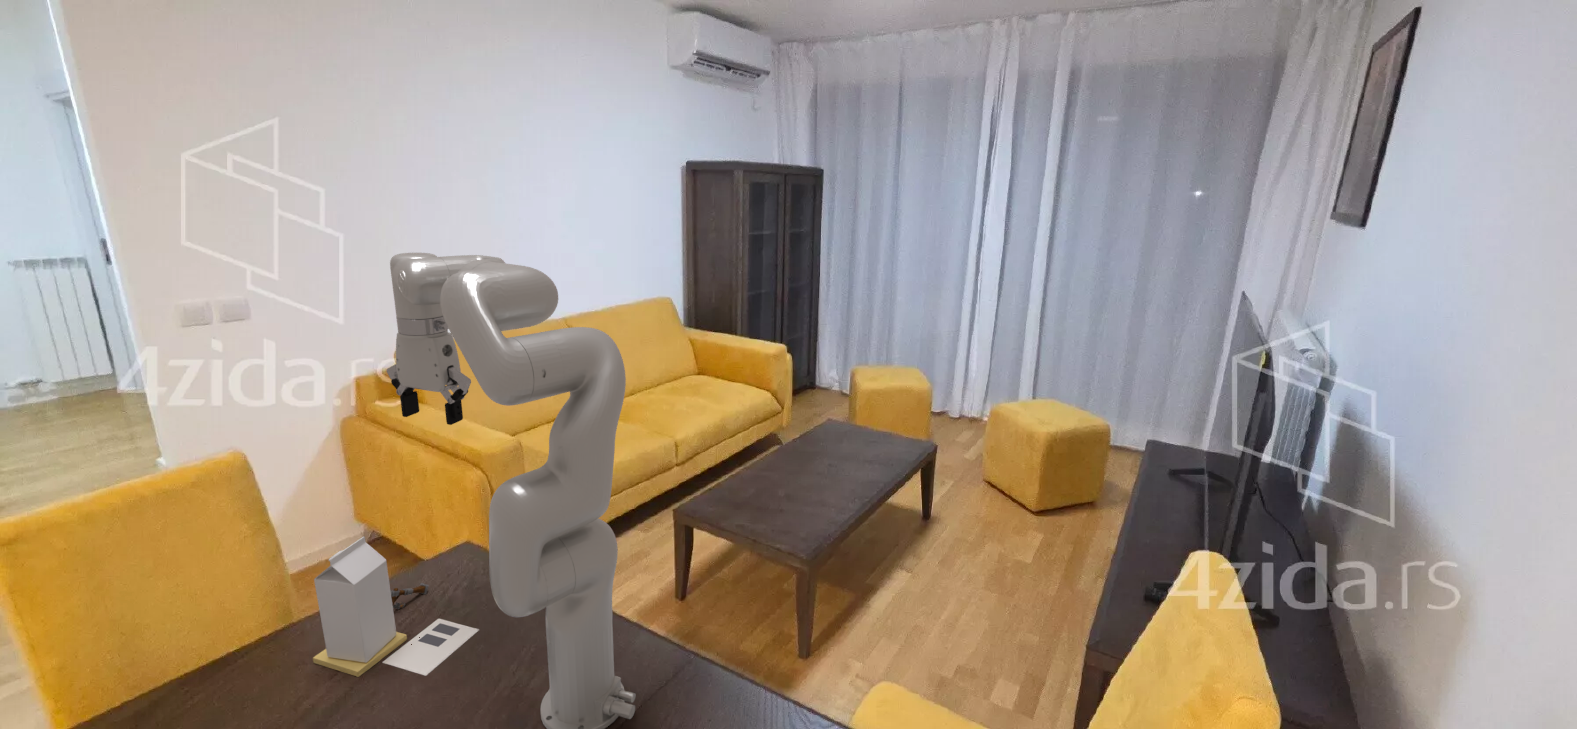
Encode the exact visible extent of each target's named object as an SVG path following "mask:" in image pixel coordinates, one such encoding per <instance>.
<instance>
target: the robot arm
mask: <svg viewBox="0 0 1577 729" xmlns="http://www.w3.org/2000/svg"><path fill="white" fill-rule="evenodd" d="M389 268H390V274H391V275H390V276H391V284H392V291H393V299H394V300H393V301H394V308H395V316H396V326H397V333H396V339H395V340H396V341H395V361H396V362H395V364H393V365H391V366H390V367H388V368H387V369H386V373H387V375H388V377H389V379H390V383H391V385H392V386H393V388H395V389H396V395H398V396H399V399H400V400H399V401H400V407H401V414H402V417H403V418H408V417H410V416H413V415H415V414H417V413H419V412H420V405H419V394H418V391H416V390H415V389H417V390H421V391H428V392H435V393H436V392H437V393H441V396H443V397H444V399H445V400H446V402H445V403H444V411H445V412H444V413H445V418H446V419H445V422H446V424H447V425H449V426H451V425H454V424H457V423H458V422H461V421H463V419H464V415H463V406H462V400H464V399H465V396H466V395H467V394H468V392H469V389H470V386H471V383H472V380H471V378H469V377H468V376H467V375H465V374H464V373H463V372H462V371H461V364H460V359H459V358H460V357H459V354H458V350H457V346H458V348H459V350H460V352H461V353H462V355H463V357H464V359H465V360H466V363H467V364H468V367H469V368H470V370H471V371H472V374H473V375H474V377H475V380H476V381H477V383H478V385H479V386H480V388H481V390H482V391H483V392H484V394H485V395H486V396H487V397H488V398H489V400H491V401H492V402H494V403H496V404H498V405H502V406H518V405H521V404H522V405H523V404H526V403H531V402H534V401H538V400H542V399H546V398H551V397H554V396H558V395H561V394H566V393H570V394H569V396H568V398H567V400H566V402H565V403H564V404H563V406H562V407H561V408H560V410H559V412H558V414H557V416H556V417H555V419H554V421H553V424H552V426H551V428H550V432H549V438H548V457H547V460H546V462H545V463H544V464H543V465H542V466H540V467H538V468H537V469H533V470H530V471H527V472H525V473H522V474H519V475H516V476H513V477H511V478H509V479H507V480H505V481H504V482H502V483H501V484H500V485H499V486H498V487H497V488H496V489H495V492H494V493H493V495H492V498H491V500H490V504H489V510H488V511H489V512H488V518H489V519H488V526H489V528H488V529H489V530H488V531H489V532H488V534H489V536H488V540H489V542H488V546H489V548H488V549H489V550H488V552H489V553H488V554H489V556H488V557H489V558H488V561H489V562H488V563H489V566H488V568H489V570H488V571H489V582H490V588H491V594H492V596H493V599H494V601H495V603H496V605H497V607H498V609H500V611H501V612H503V613H504V615H506V616H509V617H512V618H523V617H528V616H531V615H533V614H536V613H538V612H539V611H541V610H543V609H545V635H546V647H547V648H546V650H547V651H546V652H547V663H548V666H547V667H548V681H549V689H548V691H547V692H545V695H544V696H543V698H542V700H541V703H540V719H541V721H542V725H543V726H544V727H545V728H546V729H606V728H608V726H609V727H610V725H611V724H613V723H614V722H615V721H616V720H617V719H618V718H619V717H620V718H625V719H627V720H631V719H632V718H633V716H634V715H635V711H636V705H635V704H633V703H634V702H635V700H636V693H634V692H632V691H628V690H627V691H626V690H625V688H624V685H623V683H622V682H621V681H622V680H621V679H622V678H621V677H620V676H617V675H615V662H614V660H615V659H614V658H615V657H614V655H615V654H614V631H613V630H614V629H613V627H614V625H613V616H614V615H613V588H614V587H613V586H614V578H615V573H616V569H617V563H618V562H617V561H618V553H619V552H618V548H619V547H618V541H617V538H616V534H615V533H614V530H613V529H612V528H611V526H610V525H609V524H608V523H607V522H605V521H604V520H602V519H600V518H601V517H602V516H603V515H605V513H607V510H608V508H609V506H610V501H611V495H612V487H613V474H614V463H615V462H614V460H615V448H616V446H615V445H616V436H617V435H616V434H617V429H618V423H619V419H620V416H621V412H622V409H623V406H624V400H625V399H624V398H625V394H626V384H627V383H626V382H627V381H626V380H627V379H626V369H625V364H624V359H623V356H622V353H621V351H620V350H619V348H618V346H617V344H616V342H615V341H614V339H613V338H612V337H611V336H610V335H609V334H608V333H606V332H605V331H602V330H600V329H597V328H594V327H586V326H585V327H584V326H575V327H574V326H573V327H566V328H564V327H563V328H559V329H551V330H547V331H546V330H545V331H540V332H534V333H529V334H523V335H516V336H511V337H506V336H505V335H504V334H503V332H504V331H505V332H506V331H510V330H517V329H524V328H530V327H533V326H537V325H540V324H542V323H543V322H545V321H547V320H548V319H549V318H550V317H551V316H552V315H553V314H554V312H555V311H556V309H557V307H558V304H559V292H558V289H557V286H556V283H555V282H554V281H553V280H552V279H551V277H550V276H548V275H547V274H546V273H544V272H542V271H541V270H539V269H537V268H534V267H531V266H525V265H521V264H512V263H506V262H505V261H504V259H502V258H500V257H497V256H490V255H489V256H488V255H484V254H483V255H482V254H480V255H479V254H478V255H477V254H469V255H465V254H464V255H447V256H438V255H436V254H434V253H428V252H403V253H398V254H394V255H393V256H392V257H391V259H390V260H389ZM448 330H449V331H450V332H449V331H448ZM456 344H457V346H456ZM450 391H451V392H452V393H451V392H450Z"/></svg>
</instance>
